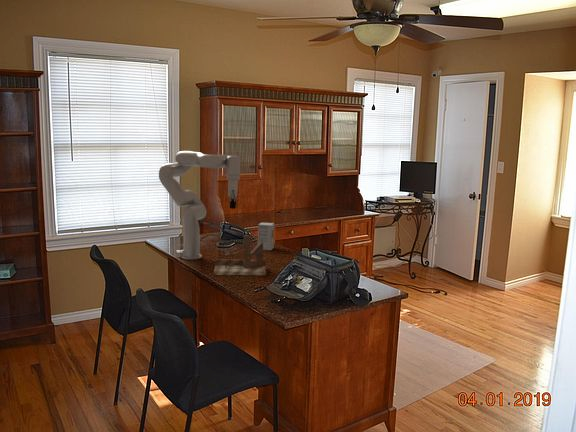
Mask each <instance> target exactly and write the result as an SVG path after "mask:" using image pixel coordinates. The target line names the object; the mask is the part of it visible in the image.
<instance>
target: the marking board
mask: <svg viewBox="0 0 576 432" xmlns="http://www.w3.org/2000/svg"><path fill="white" fill-rule="evenodd" d="M243 260H244V259H240V258H239V259H238V258H237V259H236V258H235V259H229V258H227V259H226V258H221V259H218V258H215V262H214V263H215V265H214V269H213V275H214V274H215V275H214V276H267V270H266V259H263V267H250V268H244V267H243Z"/></svg>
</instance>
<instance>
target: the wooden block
mask: <svg viewBox="0 0 576 432" xmlns="http://www.w3.org/2000/svg"><path fill="white" fill-rule="evenodd" d="M251 256H255V259H251ZM242 260H243V267H244V268H250V267H263V260H264V250H263V242H262V241H261V242H260V243H259V244H258V243H257V245H255V247H254V248H253V249H252V250H251V235H249V234H244V235H243V259H242Z"/></svg>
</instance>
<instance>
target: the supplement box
mask: <svg viewBox="0 0 576 432" xmlns="http://www.w3.org/2000/svg"><path fill="white" fill-rule="evenodd" d="M261 241H262V242H263V251H272V250H273V249H274V246H275V245H274V243H275V223H274V222H260V223H258V224H257V245H258V244H259V243H260V242H261Z"/></svg>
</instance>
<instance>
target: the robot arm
mask: <svg viewBox="0 0 576 432" xmlns="http://www.w3.org/2000/svg"><path fill="white" fill-rule="evenodd" d="M192 167H197V168H206V169H222V168H223V169H225V168H226V180H227V182H228V183H227V197H228V198H230V201H229V209H236V206H237V199H236V198H237V197H238V185H239V183H238V182H239V181H241V157H240V156H239V155H228V154H204V153H203V152H200V151H193V150H181V151H179V152H178V151H177V153H176V155H175V162H169V163H168V162H167V163H165V164H163V165H161V167H159V170H158V178H159V181H160V183H161V184H162V186H163V188H165V190H166V191H167V193H168V194H169V195H170V197H171V199H172V200H173V202H174V203H175V205H176V206H177V207H179V208H183V207H184V208H183V209H182V211H181V220H182V225H183V226H182V228H183V230H182V231H183V249H181V250H177V249H176V251H175V253H176V255H180V258H181V259H184V260H189V261H190V260H192V261H193V260H199V259H201V258H202V257H203V255H202V254H201V253H200V225H199V222H198V221H199V220H203V219H205V218H206V216H207V209H206V206H205V204H204V202H202V200H201V199H200V198H199V196H198V195H197V192H196V191H193V190H191V189H184V188H183V187H182V186H181V184H180V182H179V181H177V180H176V179H175V178H177V177H181V176H183V175H184V174H186V173H187V172H188V171H189V170H190V169H191V168H192Z"/></svg>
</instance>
